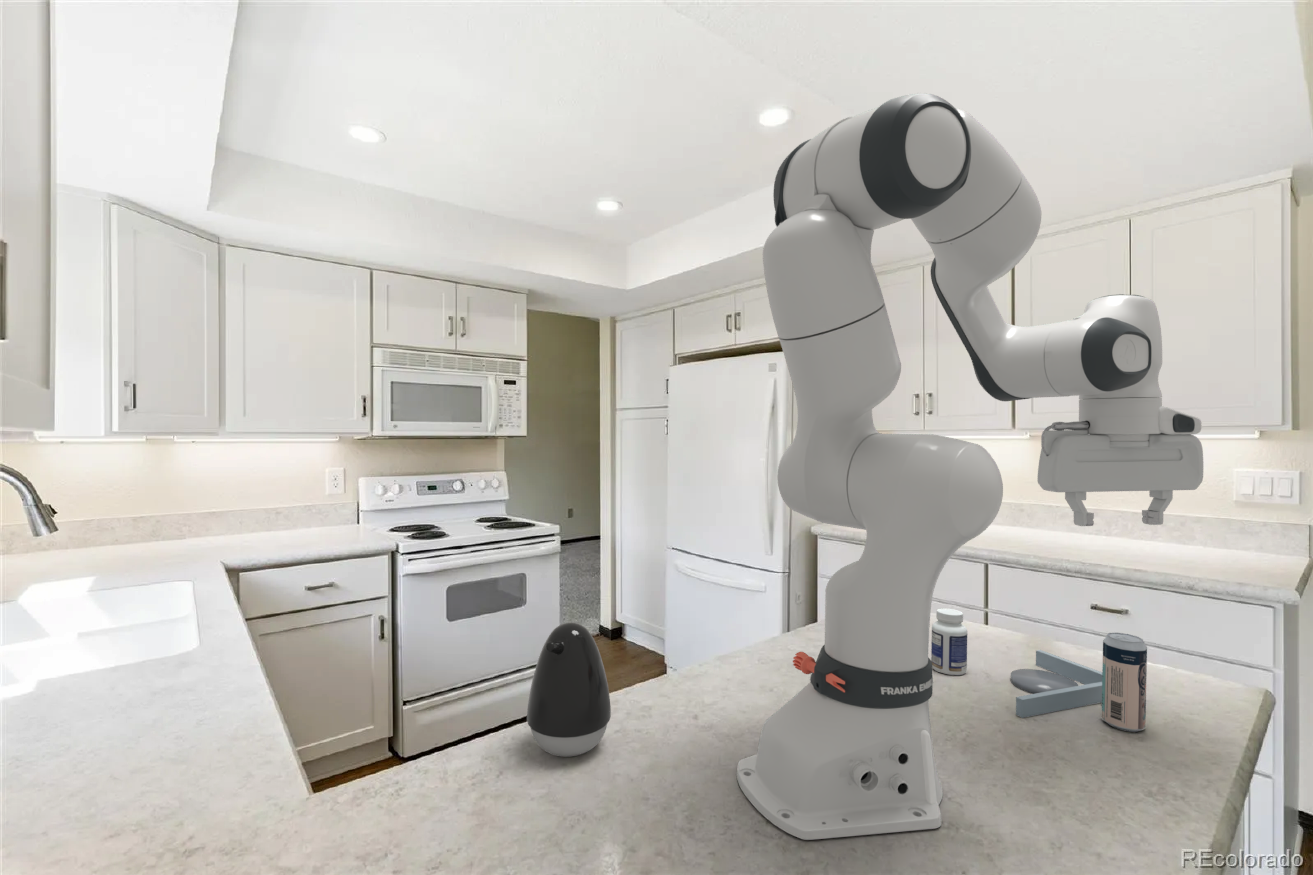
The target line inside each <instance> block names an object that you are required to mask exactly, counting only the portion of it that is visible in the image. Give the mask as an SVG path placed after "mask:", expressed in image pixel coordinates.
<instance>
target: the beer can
mask: <svg viewBox="0 0 1313 875" xmlns="http://www.w3.org/2000/svg"><path fill="white" fill-rule="evenodd" d="M1147 665H1148V646H1147V645H1146V643H1145V641H1144V639H1143V638H1141V637H1139V636H1137V635H1133V634H1128V633H1123V632H1109V633H1107V634H1106V636H1105V637H1104V638H1103V640H1102V671H1101V672H1102V702H1101V719H1102V720H1103V721H1104V723H1105V722H1106V723H1107V724H1108V725H1109V726H1111V727H1113V728H1114V729H1117V730H1120V731H1125V732H1131V733H1135V732H1139V731H1144V730H1145V729H1146V727H1147V726H1146V718H1147V716H1146V715H1147V714H1146V713H1147V711H1146V710H1147V709H1146V708H1147V707H1146V706H1147V675H1148V673H1147V667H1148V666H1147Z"/></svg>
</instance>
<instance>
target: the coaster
mask: <svg viewBox="0 0 1313 875" xmlns="http://www.w3.org/2000/svg"><path fill="white" fill-rule="evenodd" d="M1010 682H1011V684H1012V685H1013V686H1015V687H1016V688H1018V689H1019V690H1021V691H1024V692H1025V693H1030V694H1035V693H1041V692H1047V691H1052V690H1058V689H1064V688H1069V687H1075V686H1079V684H1078V683H1077V681H1076V682H1075V680H1072V679H1070V678H1067V677H1065V676H1062V675H1060V674H1057V673H1055V672H1052V671H1049V670H1047V671H1046V670H1042V669H1036V668H1035V669H1033V668H1020V669H1015V670H1013V671H1011V672H1010Z"/></svg>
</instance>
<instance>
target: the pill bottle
mask: <svg viewBox="0 0 1313 875" xmlns="http://www.w3.org/2000/svg"><path fill="white" fill-rule="evenodd" d="M935 619H937V621H933V623H932V624H931V646H930V647H931V648H930V649H931V651H930V652H931V653H930V654H931V655H930V657H931V658H930V660H931V661H932V670H933V671H934V670H935V672H938V673H941V674H943V675H944V674H945V675H950V676H962V675H965V674H966V673H967V671H968V628H967V627H966V626H965V625H964V624H963V622H964V613H963V612H962V611H961V610H957V609H954V608H946V607H945V608H937V609H936V618H935Z"/></svg>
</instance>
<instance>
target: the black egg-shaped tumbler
mask: <svg viewBox="0 0 1313 875" xmlns="http://www.w3.org/2000/svg"><path fill="white" fill-rule="evenodd" d="M528 695H529V696H528V701H527V711H526V721H527V724H528V726H529V728H530V732H531V735H532V737H533V739H534V741H535V742H536V744H537V745H538V747H539V748H541V749H542V750H543V751H544V752H546V753H548V754H550V755H553V756H558V757H564V758H567V757H568V758H569V757H577V756H580V755H583V754H586V753H587V752H589V751H591V750H592V749H594V748H595V747H596V746H597V745H598V744H599V742H600V741H601V740H602V738H603V737H604V735H605V732H606V730H607V726H608V723H609V722H610V720H611V715H612V712H611V711H612V709H611V708H612V707H611V706H612V705H611V697H610V690H609V684H608V679H607V674H606V669H605V666H604V663H603V660H602V656H601V653H600V650H599V647H598V645H597V643H596V640H595V638H594V637H593V635H592V633H591V632H590V631H589V630H588V629H587V627H585V626H584V625H583V624H580V623H577V622H564V623H562V624H560V625H558V626H556V627H555V628H554V629H553V630H552V631H551V632H550V633H549V636H548V637H547V639H546V640H545V642H544V644H543V645H542V649H541V650H540V654H539V656H538V660H537V663H536V666H535V669H534V672H533V677H532V681H531V686H530V690H529V694H528Z"/></svg>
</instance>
